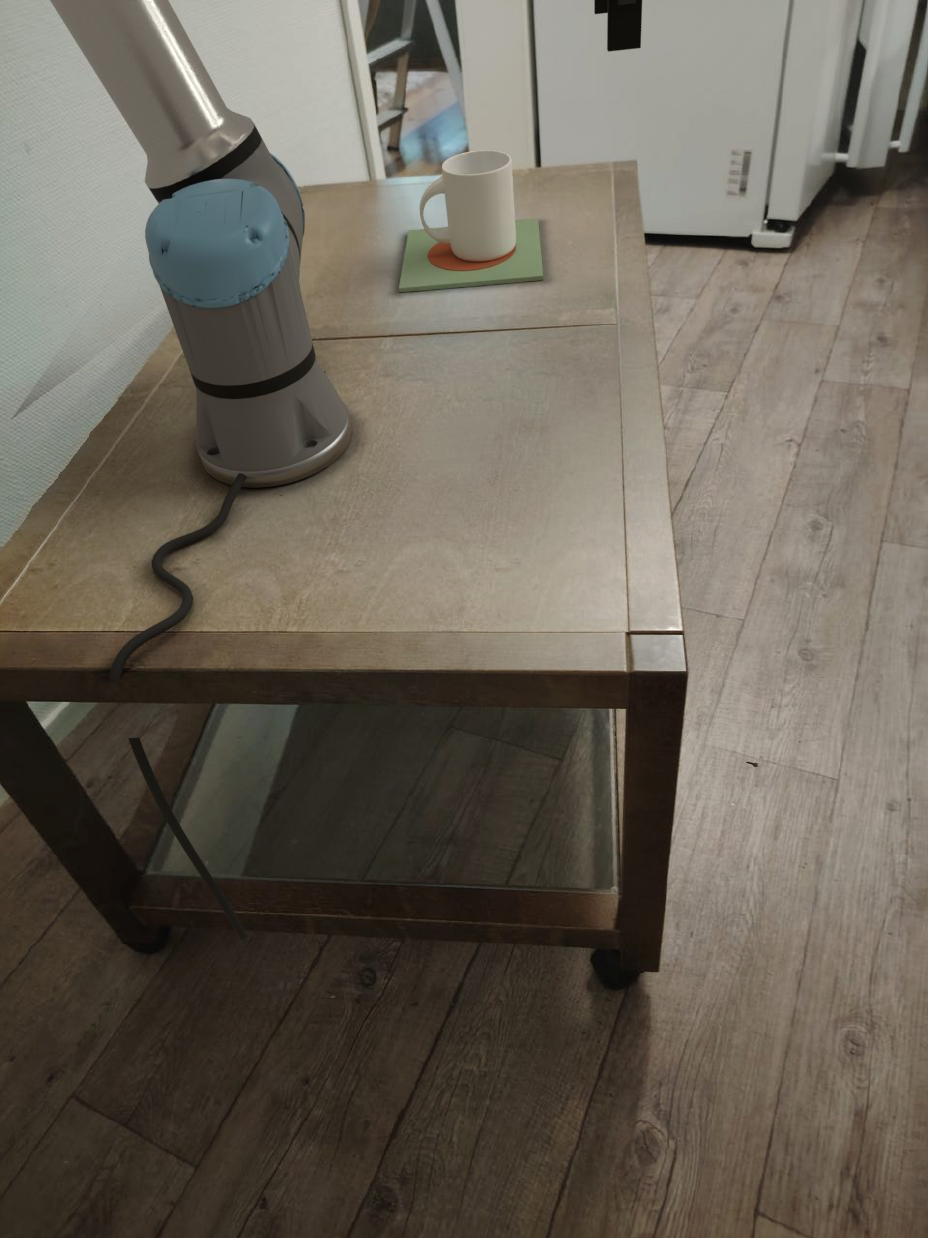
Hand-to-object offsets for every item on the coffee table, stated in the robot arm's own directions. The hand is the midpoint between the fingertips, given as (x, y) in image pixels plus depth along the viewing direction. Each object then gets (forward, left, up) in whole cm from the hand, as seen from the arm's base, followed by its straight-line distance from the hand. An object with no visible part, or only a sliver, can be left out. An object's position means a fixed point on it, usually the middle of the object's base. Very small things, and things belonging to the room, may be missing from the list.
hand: (616, 29), depth 80 cm
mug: (+23, +16, -28) cm, 40 cm away
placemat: (+23, +16, -29) cm, 40 cm away
